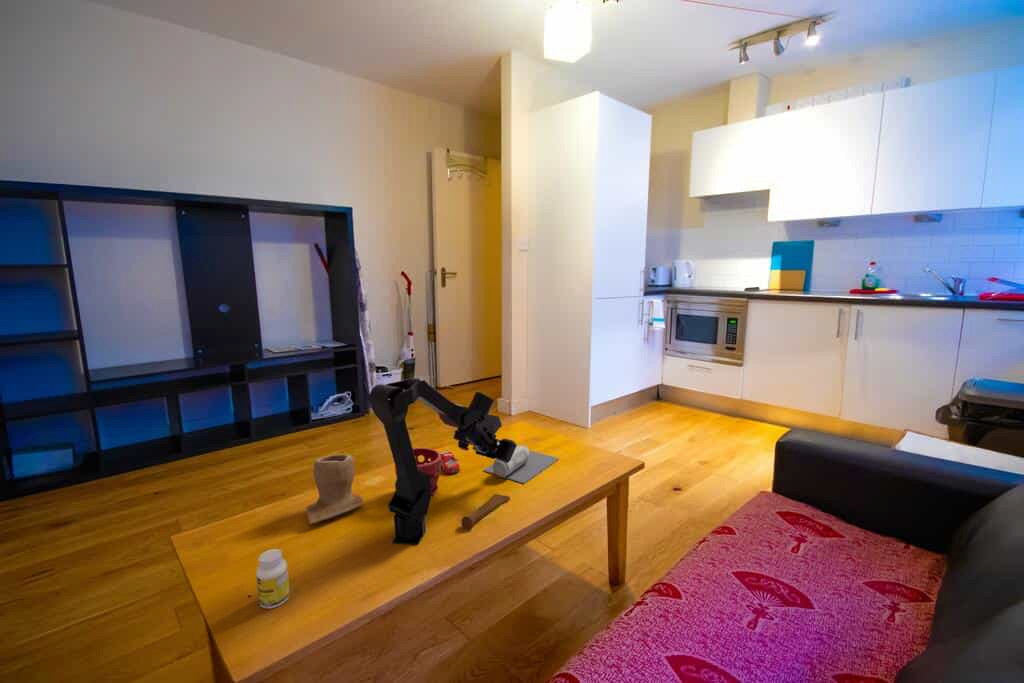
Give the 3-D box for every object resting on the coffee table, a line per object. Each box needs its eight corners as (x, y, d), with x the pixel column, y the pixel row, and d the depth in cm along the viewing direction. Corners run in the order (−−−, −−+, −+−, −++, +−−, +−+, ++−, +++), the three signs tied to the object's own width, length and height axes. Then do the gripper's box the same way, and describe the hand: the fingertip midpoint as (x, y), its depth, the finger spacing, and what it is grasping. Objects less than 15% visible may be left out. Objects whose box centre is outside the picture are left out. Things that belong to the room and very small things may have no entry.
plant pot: (401, 509, 121) (399, 468, 119) (393, 488, 133) (391, 451, 131) (447, 499, 126) (446, 459, 125) (435, 480, 138) (434, 443, 137)
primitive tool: (495, 495, 130) (495, 483, 129) (512, 499, 127) (512, 487, 127) (459, 529, 113) (459, 516, 112) (478, 534, 110) (477, 521, 110)
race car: (461, 474, 143) (461, 462, 142) (444, 477, 141) (444, 465, 140) (453, 458, 155) (453, 447, 155) (437, 460, 153) (437, 449, 153)
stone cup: (351, 493, 130) (348, 445, 128) (368, 509, 122) (365, 457, 119) (296, 512, 120) (292, 460, 118) (311, 530, 112) (306, 475, 109)
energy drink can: (494, 478, 140) (518, 461, 152) (509, 478, 136) (533, 460, 149) (489, 460, 140) (514, 444, 152) (504, 459, 136) (529, 443, 149)
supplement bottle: (252, 605, 87) (247, 560, 85) (276, 587, 92) (271, 544, 90) (273, 613, 85) (268, 566, 83) (296, 593, 90) (292, 549, 88)
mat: (523, 484, 135) (523, 482, 135) (483, 471, 144) (483, 469, 144) (559, 459, 153) (559, 458, 153) (521, 449, 162) (521, 448, 162)
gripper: (512, 415, 125) (533, 440, 135) (463, 404, 135) (486, 428, 146) (496, 450, 119) (519, 473, 130) (445, 436, 130) (471, 459, 141)
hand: (498, 457), depth 137 cm, fingers closed
